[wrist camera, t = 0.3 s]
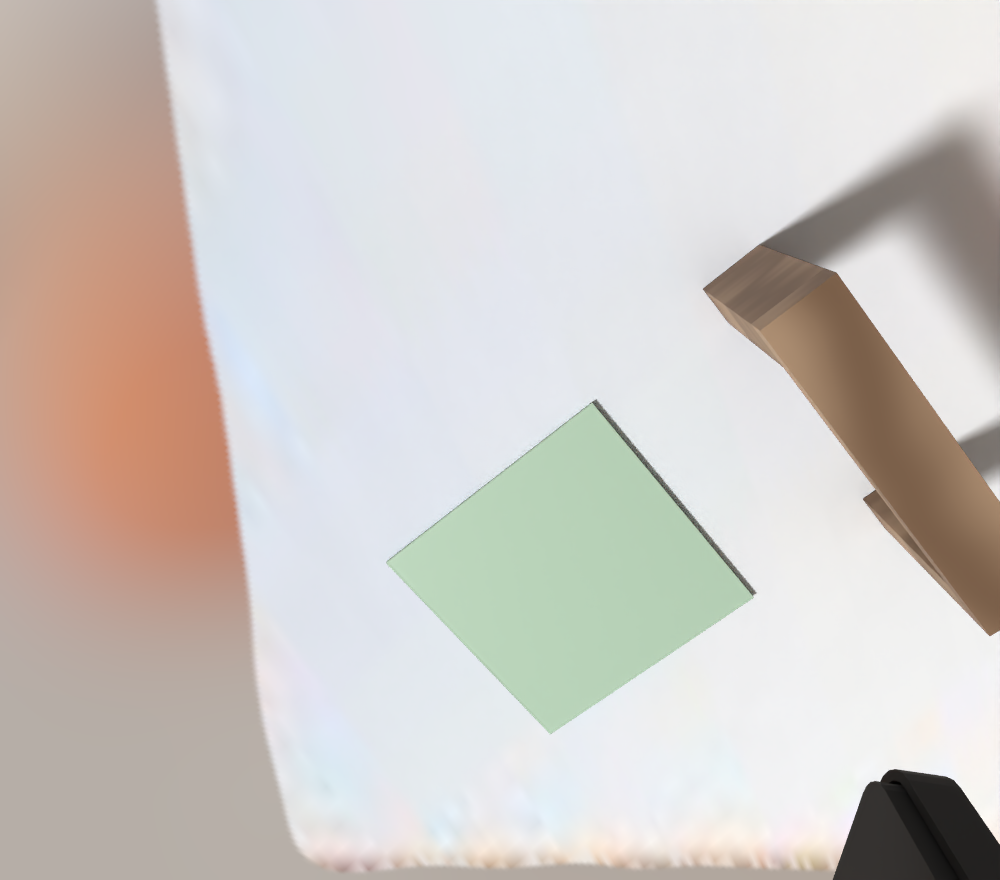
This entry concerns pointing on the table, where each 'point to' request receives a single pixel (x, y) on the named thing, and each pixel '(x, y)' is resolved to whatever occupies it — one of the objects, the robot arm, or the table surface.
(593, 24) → the table surface
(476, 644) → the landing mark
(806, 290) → the bridge
